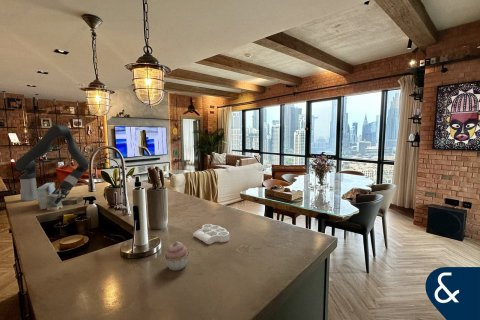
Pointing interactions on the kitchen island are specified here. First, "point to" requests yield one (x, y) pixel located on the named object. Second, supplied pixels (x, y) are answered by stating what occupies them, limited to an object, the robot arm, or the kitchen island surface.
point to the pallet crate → (51, 200)
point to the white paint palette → (212, 234)
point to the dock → (71, 200)
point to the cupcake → (176, 256)
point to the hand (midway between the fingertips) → (52, 202)
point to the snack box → (44, 194)
